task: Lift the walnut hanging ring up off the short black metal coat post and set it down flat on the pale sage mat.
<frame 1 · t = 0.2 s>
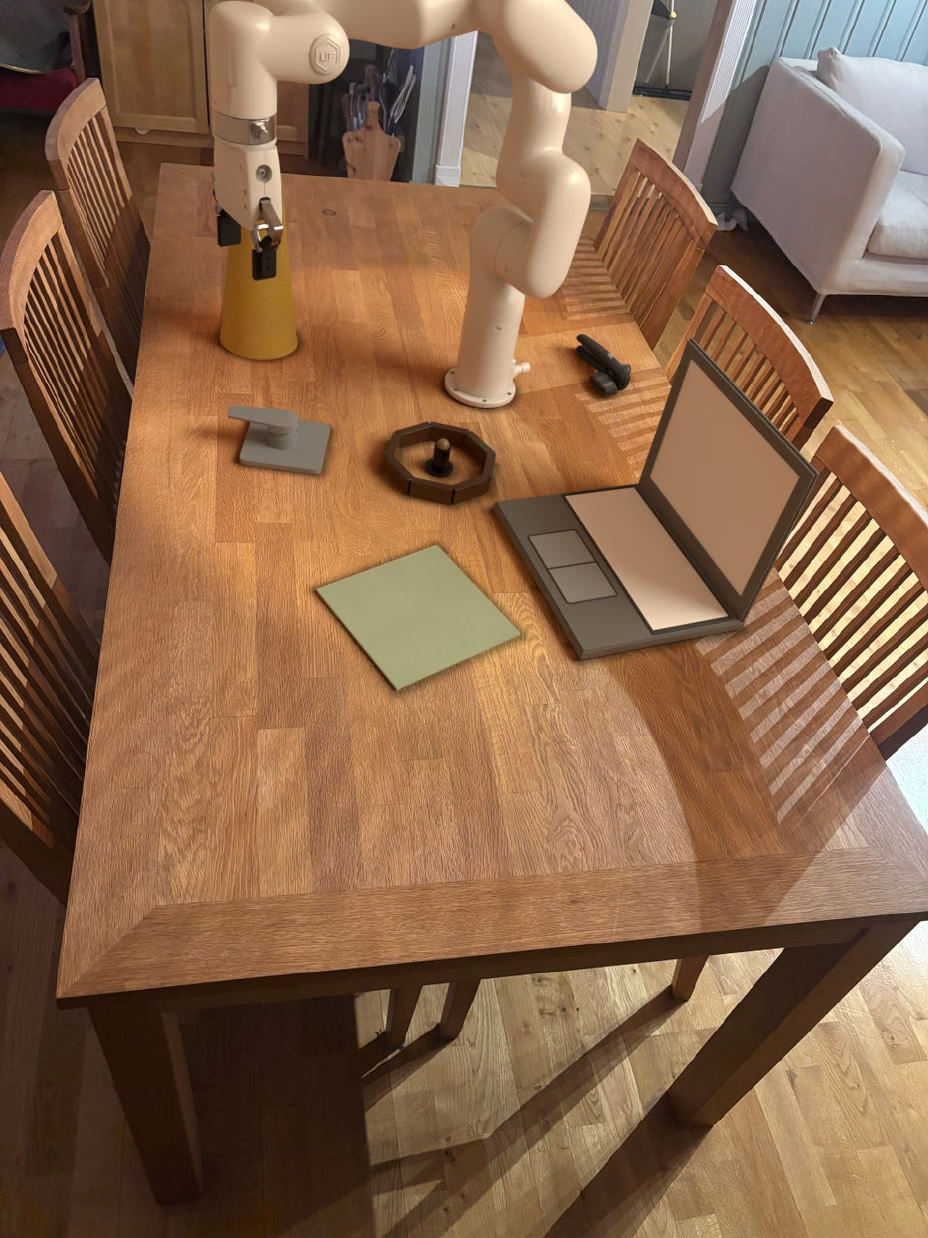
hand: (246, 261, 128), 31 cm above the table, tool pointing down, fingers open, 9 cm apart
laptop: (613, 569, 143), on the table
sage mat: (418, 613, 131), on the table
can opener: (596, 375, 181), on the table
piping tip: (259, 340, 173), on the table
hanging ring: (439, 468, 154), on the table
coat post: (439, 468, 154), on the table
shower valve: (277, 446, 152), on the table
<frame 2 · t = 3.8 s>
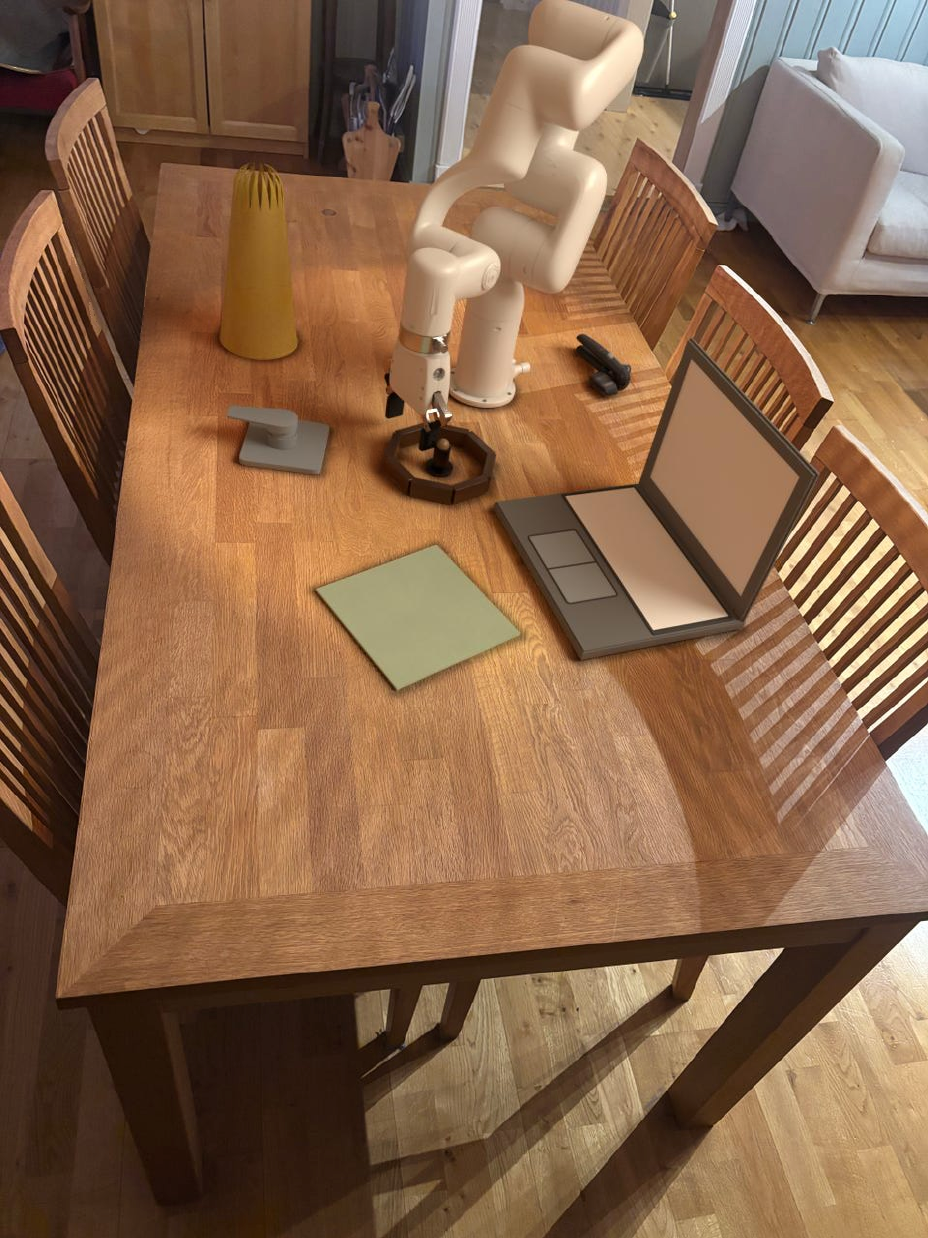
hand: (410, 432, 156), 2 cm above the table, tool pointing down, fingers open, 9 cm apart
nothing on the table moved.
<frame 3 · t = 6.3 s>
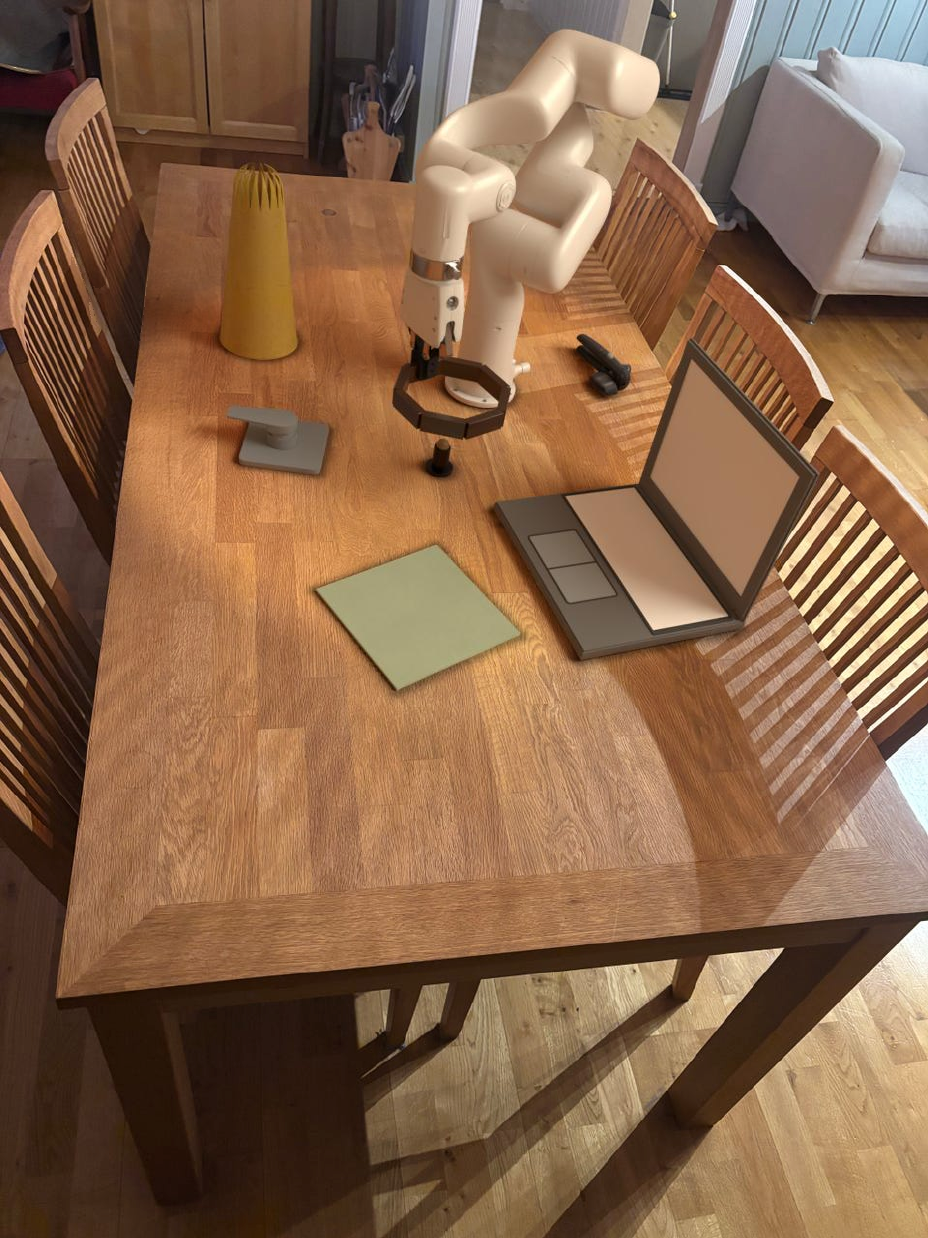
hand: (422, 373, 149), 13 cm above the table, tool pointing down, fingers closed on hanging ring
hanging ring: (450, 403, 146), point 12 cm above the table, touching gripper
everything else where it was.
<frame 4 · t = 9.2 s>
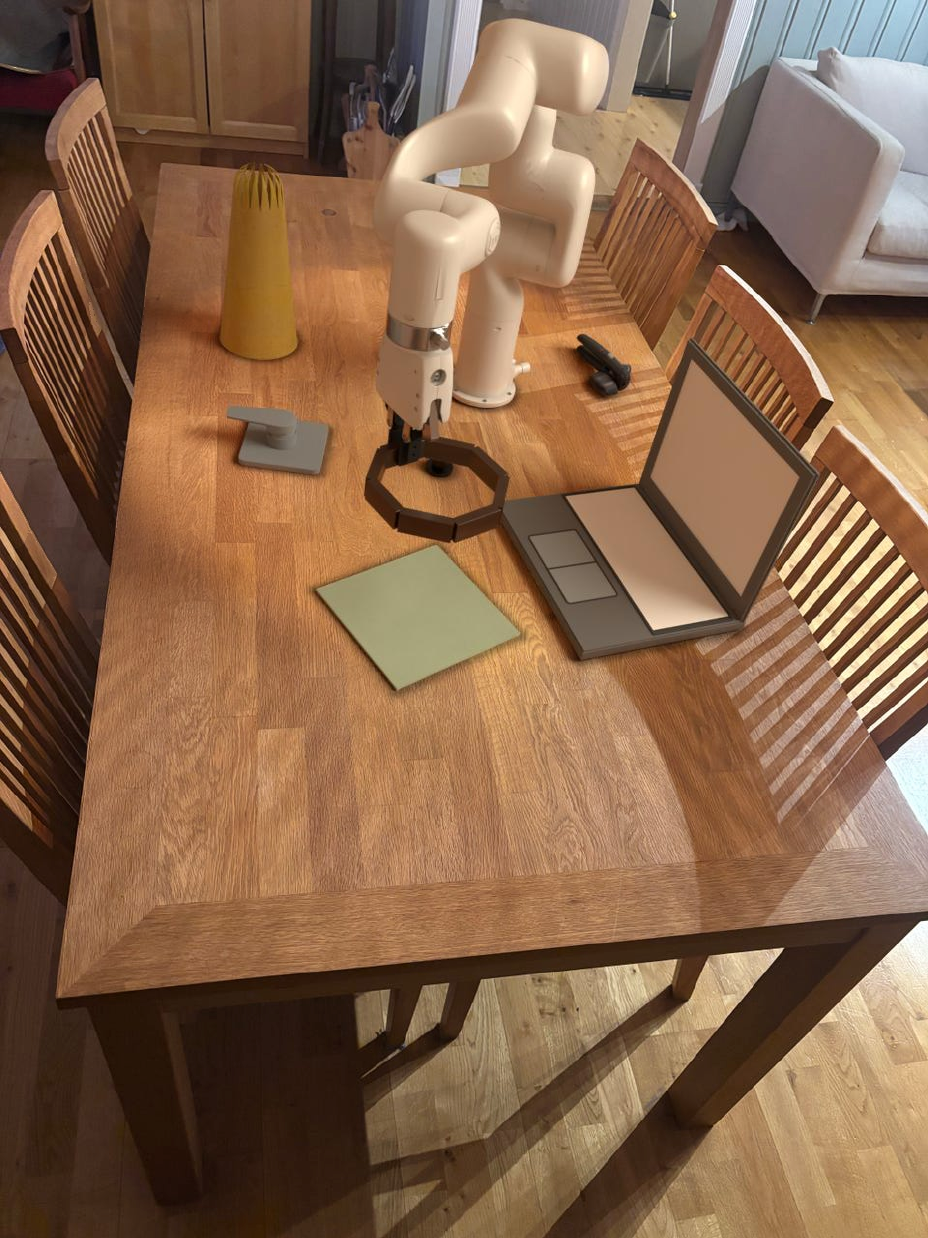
hand: (402, 457, 123), 19 cm above the table, tool pointing down, fingers closed on hanging ring
hanging ring: (436, 495, 119), point 19 cm above the table, touching gripper
everything else where it was.
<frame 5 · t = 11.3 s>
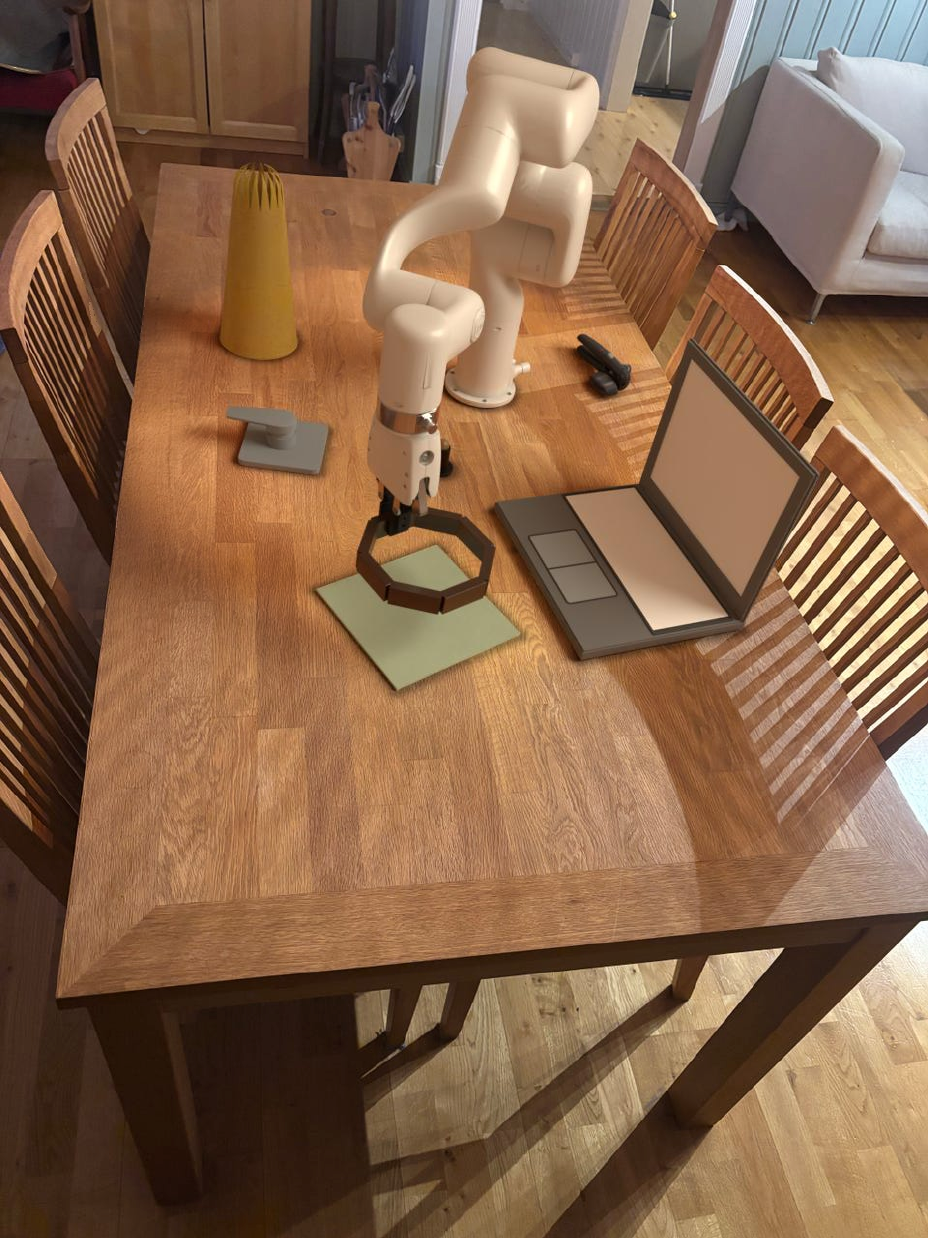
hand: (393, 526, 128), 9 cm above the table, tool pointing down, fingers closed on hanging ring
hanging ring: (425, 565, 125), point 9 cm above the table, touching gripper
everything else where it was.
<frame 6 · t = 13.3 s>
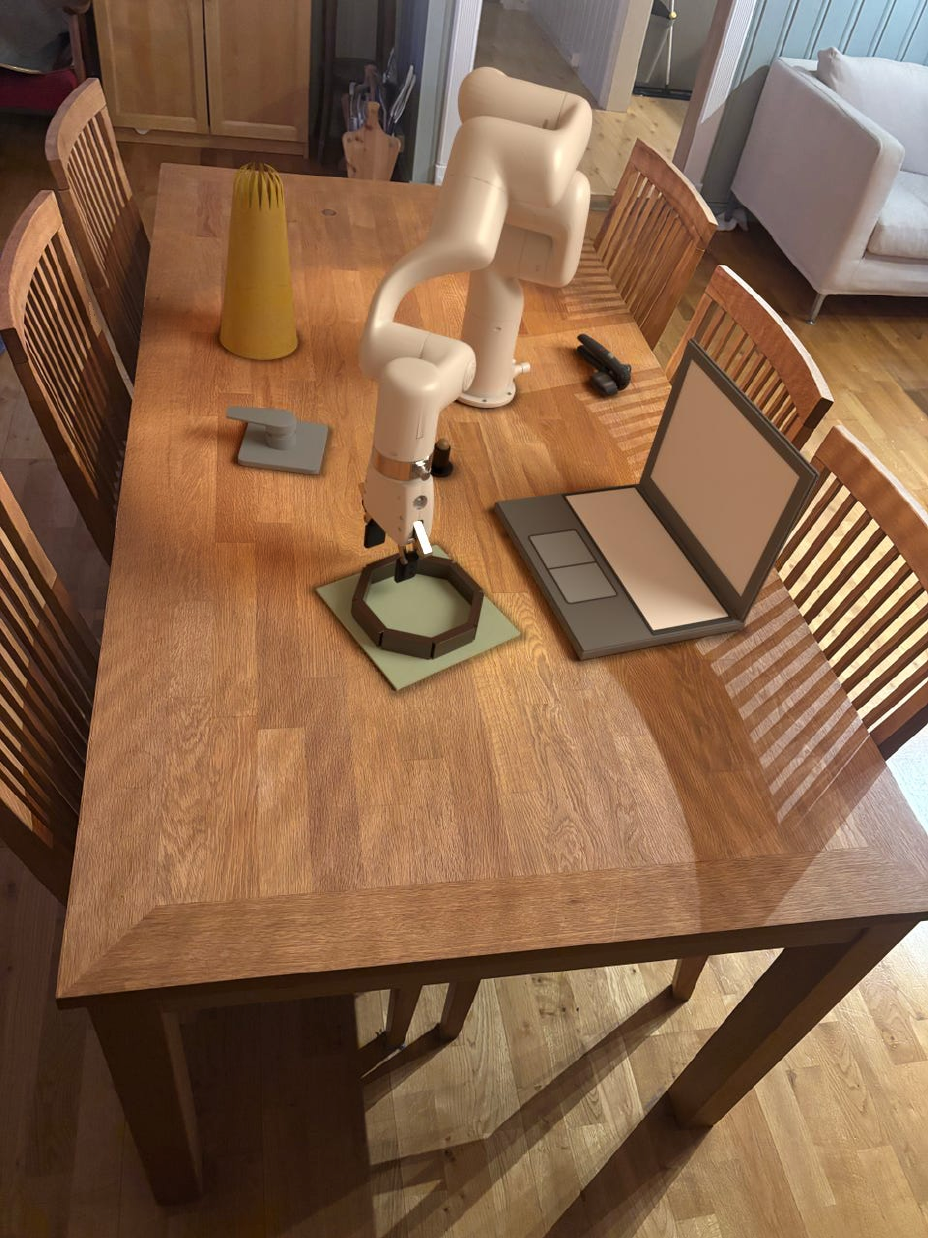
hand: (389, 560, 133), 3 cm above the table, tool pointing down, fingers open, 7 cm apart
hanging ring: (417, 610, 131), resting on sage mat
everything else where it was.
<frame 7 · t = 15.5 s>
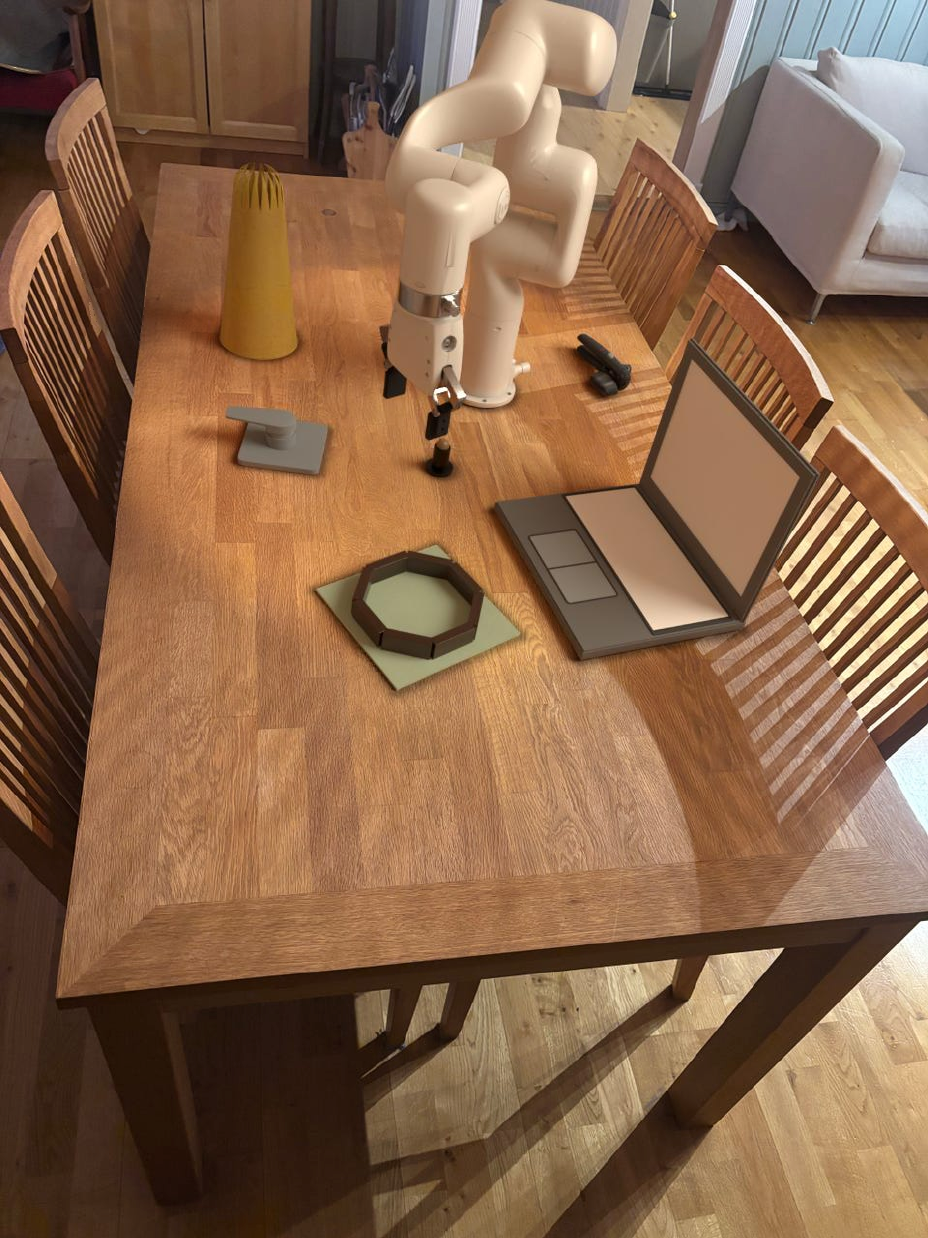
hand: (414, 415, 125), 22 cm above the table, tool pointing down, fingers open, 9 cm apart
nothing on the table moved.
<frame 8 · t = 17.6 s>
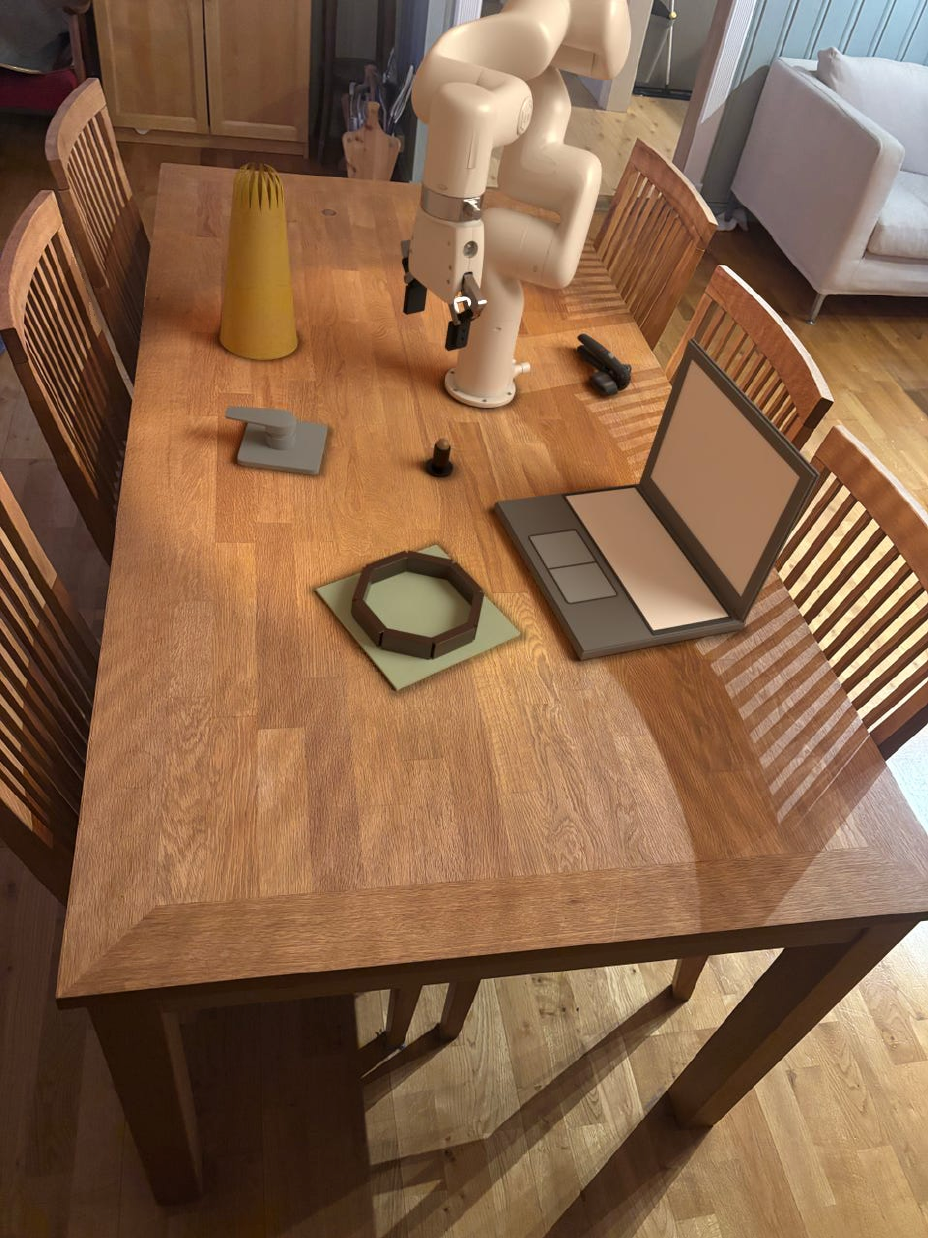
hand: (434, 329, 128), 28 cm above the table, tool pointing down, fingers open, 9 cm apart
nothing on the table moved.
at the end: hanging ring inside the target area on the sage mat (0.2 cm from its centre), point 0.4 cm above the sage mat's base; hanging ring tilted 0°; hanging ring moved 32.5 cm from its start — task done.
